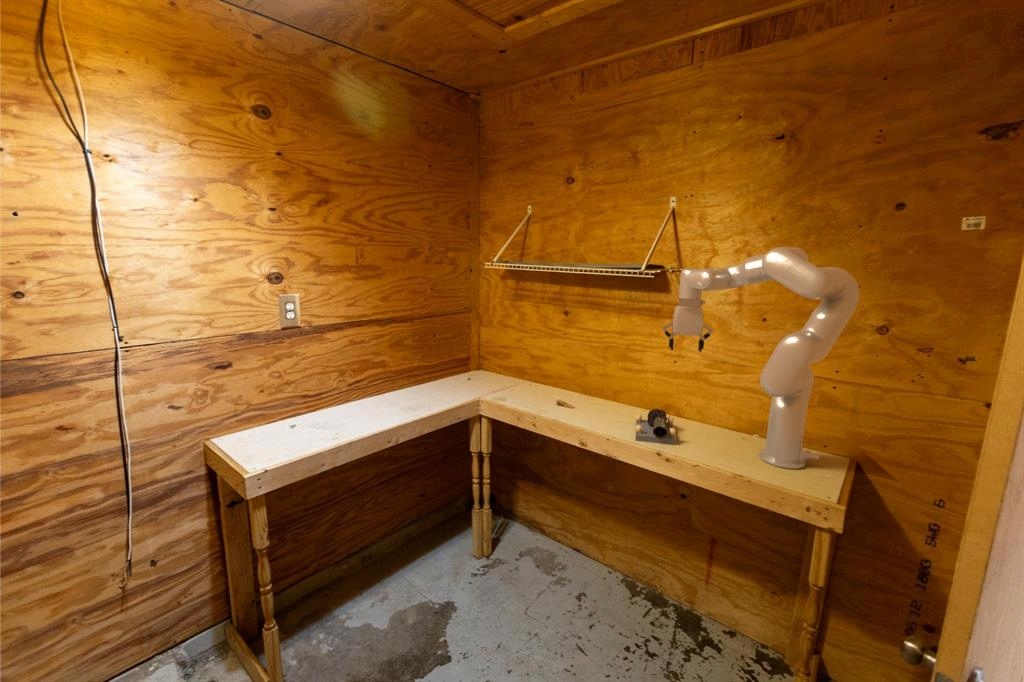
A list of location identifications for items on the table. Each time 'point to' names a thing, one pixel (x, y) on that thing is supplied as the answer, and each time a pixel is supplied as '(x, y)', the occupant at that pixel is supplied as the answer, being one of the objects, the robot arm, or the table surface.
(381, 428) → the table surface
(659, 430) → the dark elongated piece
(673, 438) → the pipe stand
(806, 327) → the robot arm
